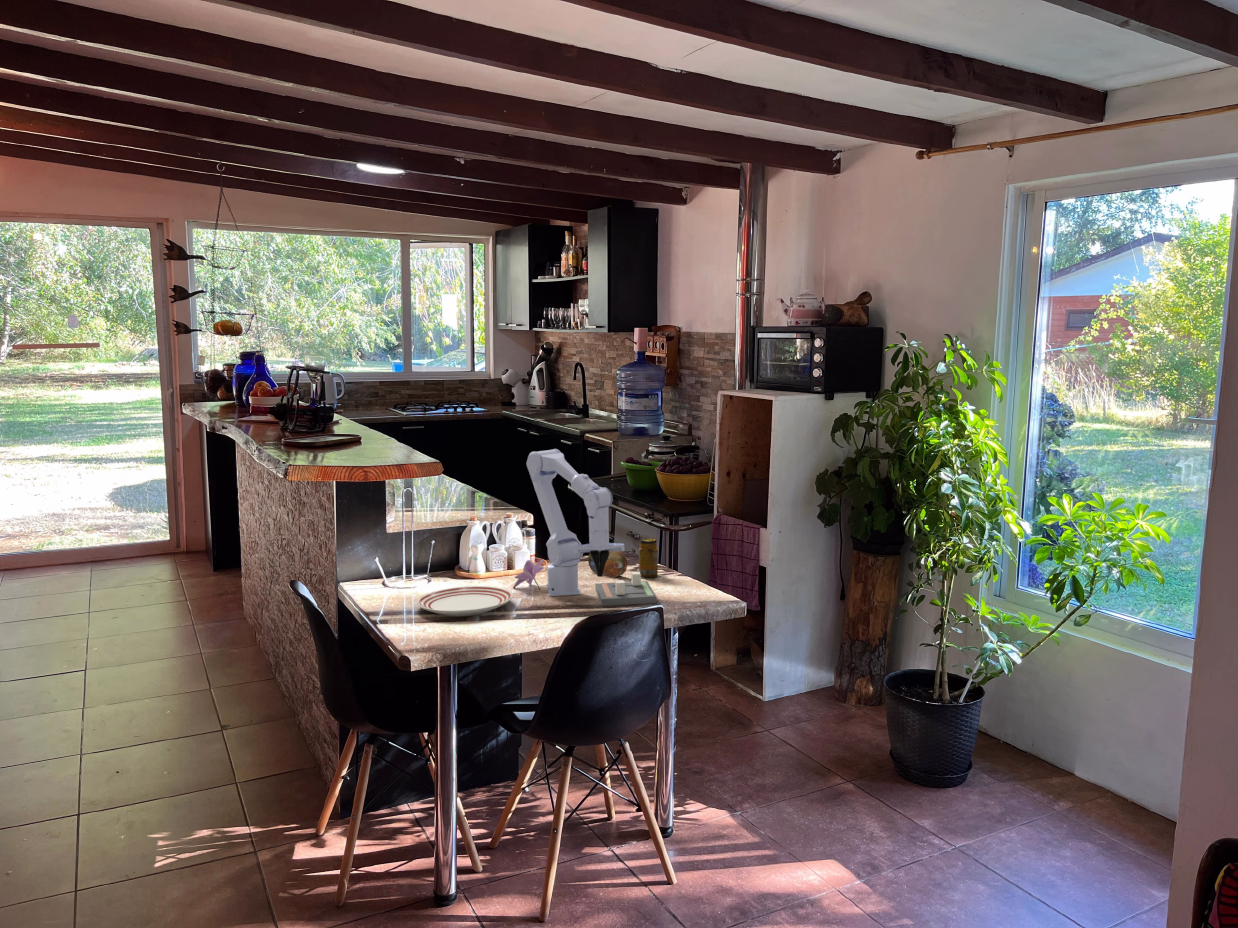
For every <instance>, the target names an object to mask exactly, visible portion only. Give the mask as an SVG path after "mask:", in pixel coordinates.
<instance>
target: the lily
mask: <svg viewBox="0 0 1238 928" xmlns="http://www.w3.org/2000/svg"><path fill="white" fill-rule="evenodd" d="M544 560H545V559H544V558H542V559H541V560H539V561H537V562H536V563H534V562H533V561H532V560H530V559H527V560H526V561H525V564H524V565H523V567H522V568H523V569H522V572H520V573H518V574H517V575H516V576H514V579H517V580H516V581H515V583H514V585H513V589H515V588H516V587H518V586H519V585H520V584H522V583H524V582H526V583H527V584H528V585H531V584H533V583H532V582H533V581H534V583H535V584H536V586H537V588H538V590H539V591H541V588H540V586H539V584H538V581H536V575H537V574H538V573H540V572H541V571H543V570H544V569H546V567H545V566H543V565H542V564H543V561H544ZM514 587H515V588H514Z"/></svg>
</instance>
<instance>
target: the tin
mask: <svg viewBox="0 0 1238 928" xmlns="http://www.w3.org/2000/svg"><path fill="white" fill-rule="evenodd" d="M587 562H588V566H589V568H590V570H591V571H592V573H594V574H596V575H597V571H596V567H595V563H594V561H593V558H592V556H591V554H590V553H588V557H587ZM627 569H628V560H627V557H626V555H625V554H624V553H623V551H609V557H608V559H607V561H606V564H605V567H604V570H603V576H607V577H611V578H612V577H613V578H617V577H621V576H623V575H624V574H625V573H626V572H627Z"/></svg>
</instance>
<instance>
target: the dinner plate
mask: <svg viewBox="0 0 1238 928" xmlns="http://www.w3.org/2000/svg"><path fill="white" fill-rule="evenodd" d="M513 596H514V594H513V592H511V591H510V590H508V589H505V588H502V587H496V586H487V585H486V586H485V585H470V586H469V585H468V586H456V587H450V588H443V589H439V590H436V591H432V592H429V593H427V594H424V595H422V596H420V597H419V598H418V599H417V600H416V605H417V606H418V607H420V608H421V609H423V610H426V611H428V612H431V613H435V614H439V615H441V616H447V617H448V616H449V617H465V616H466V617H467V616H468V617H469V616H476V615H481V614H485V613H489V612H491V611H493V610H496V609H497V608H499V607H502V606H504V605H506V604H507V603H508V602H510V600H512V598H513Z"/></svg>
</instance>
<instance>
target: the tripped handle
mask: <svg viewBox="0 0 1238 928" xmlns="http://www.w3.org/2000/svg"><path fill="white" fill-rule="evenodd" d="M614 581H615V582H614V583H615V590H616V594H617V595H625V582H626V581H625V580H624V579H621V580H620V579H618V580H614Z"/></svg>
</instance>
